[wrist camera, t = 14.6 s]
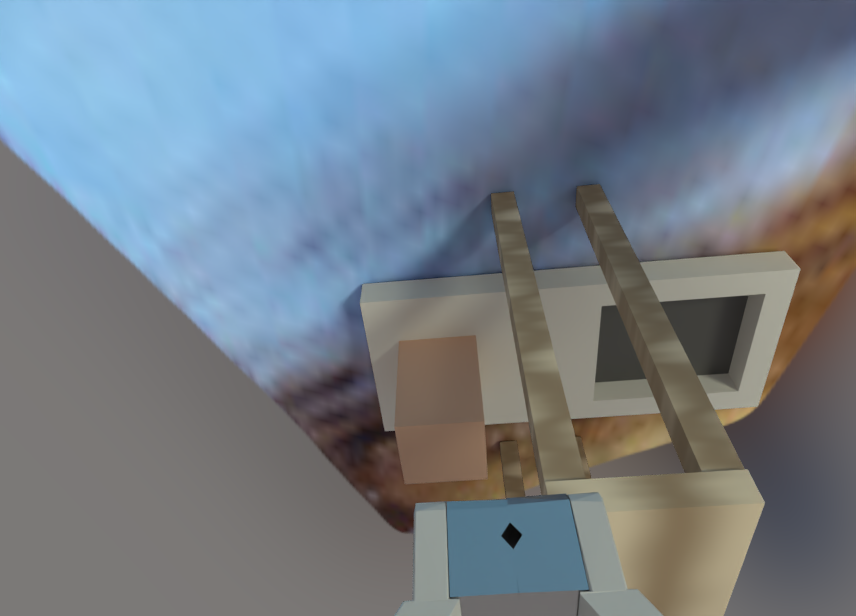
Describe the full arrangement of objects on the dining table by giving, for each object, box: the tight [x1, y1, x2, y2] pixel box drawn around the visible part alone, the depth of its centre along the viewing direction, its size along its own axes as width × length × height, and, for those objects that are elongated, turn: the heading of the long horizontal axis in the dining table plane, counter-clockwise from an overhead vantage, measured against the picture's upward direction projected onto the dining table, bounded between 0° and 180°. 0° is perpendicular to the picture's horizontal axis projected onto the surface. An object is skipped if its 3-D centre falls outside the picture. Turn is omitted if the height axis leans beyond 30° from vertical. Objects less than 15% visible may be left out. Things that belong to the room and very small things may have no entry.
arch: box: [491, 184, 765, 616], centre depth 42 cm, size 8×28×26 cm, turn 5°
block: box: [394, 335, 488, 484], centre depth 47 cm, size 6×6×9 cm
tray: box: [360, 251, 800, 431], centre depth 51 cm, size 32×14×2 cm, turn 95°
